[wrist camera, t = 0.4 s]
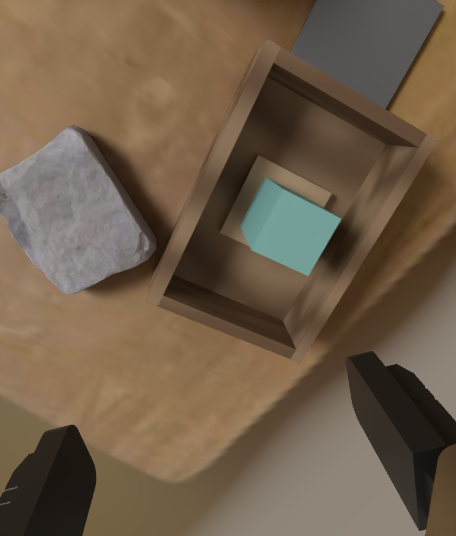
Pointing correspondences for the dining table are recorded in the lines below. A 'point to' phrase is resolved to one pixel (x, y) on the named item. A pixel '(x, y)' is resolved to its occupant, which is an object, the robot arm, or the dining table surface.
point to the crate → (298, 180)
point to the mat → (366, 42)
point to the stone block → (73, 213)
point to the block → (287, 226)
